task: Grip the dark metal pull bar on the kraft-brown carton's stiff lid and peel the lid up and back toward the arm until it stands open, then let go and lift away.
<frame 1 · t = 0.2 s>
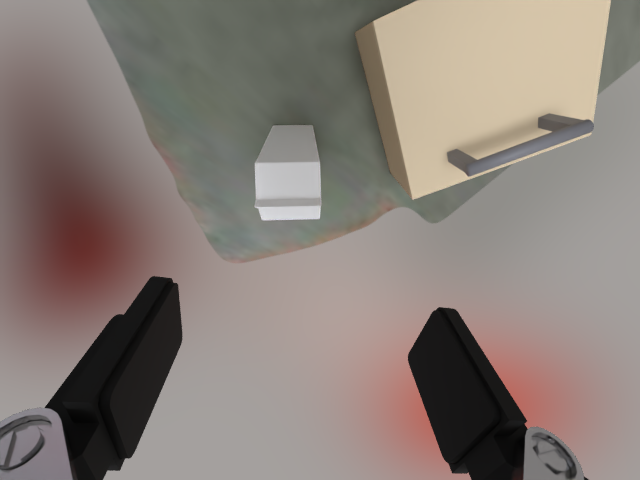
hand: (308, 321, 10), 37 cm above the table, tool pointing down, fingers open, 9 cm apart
carton lid: (509, 86, 28), point 13 cm above the table, hinge at 0.0°
milk: (293, 145, 43), on the table
carton: (449, 80, 39), on the table
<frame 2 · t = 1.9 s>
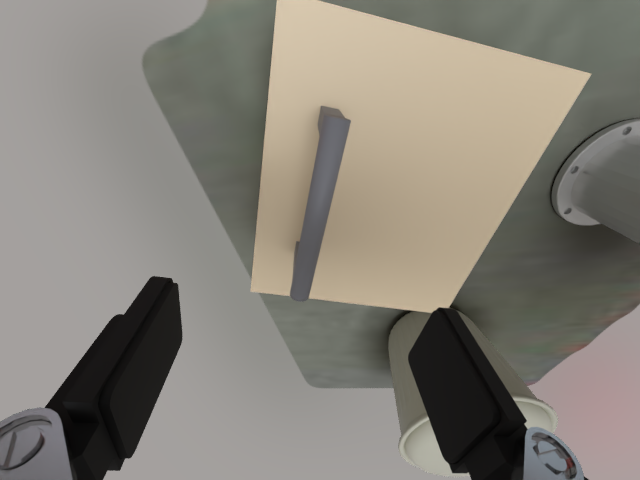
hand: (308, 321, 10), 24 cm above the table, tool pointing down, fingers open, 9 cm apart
canister: (424, 327, 47), on the table
carton lid: (396, 218, 20), point 13 cm above the table, hinge at 0.0°
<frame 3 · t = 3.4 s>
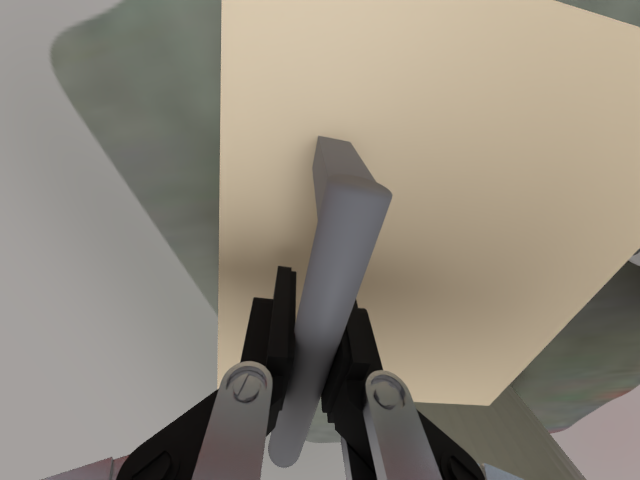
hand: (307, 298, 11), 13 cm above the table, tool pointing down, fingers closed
canister: (443, 379, 39), on the table
carton lid: (445, 318, 12), point 13 cm above the table, hinge at 0.0°, touching gripper
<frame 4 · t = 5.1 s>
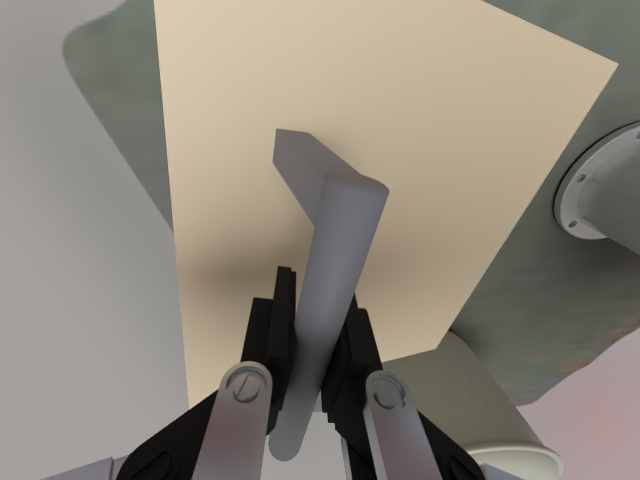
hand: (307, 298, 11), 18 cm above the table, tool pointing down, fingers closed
canister: (415, 348, 43), on the table
carton lid: (407, 285, 13), point 16 cm above the table, hinge at 17.8°, touching gripper
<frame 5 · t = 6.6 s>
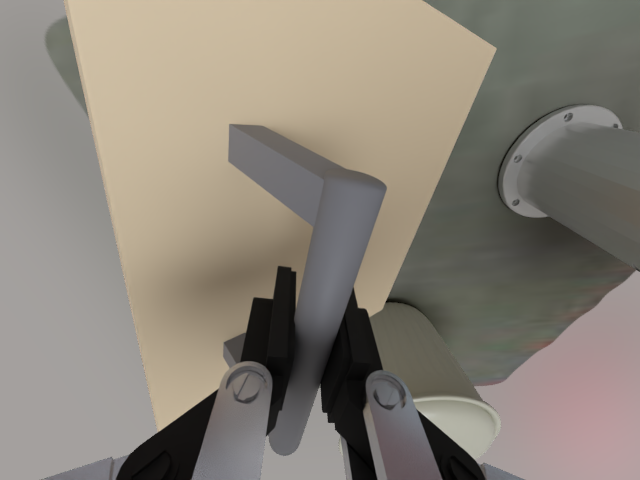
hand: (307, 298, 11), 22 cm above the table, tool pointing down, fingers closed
canister: (383, 325, 45), on the table
carton lid: (367, 261, 14), point 19 cm above the table, hinge at 37.6°, touching gripper
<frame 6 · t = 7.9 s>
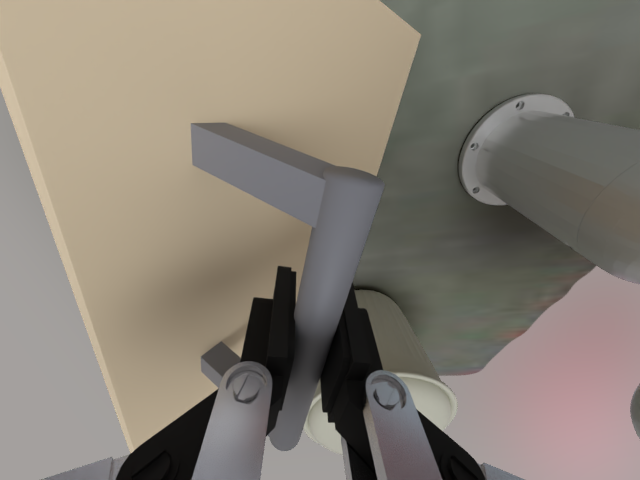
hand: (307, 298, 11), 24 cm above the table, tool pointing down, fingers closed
canister: (357, 312, 46), on the table
carton lid: (335, 248, 15), point 20 cm above the table, hinge at 53.5°, touching gripper
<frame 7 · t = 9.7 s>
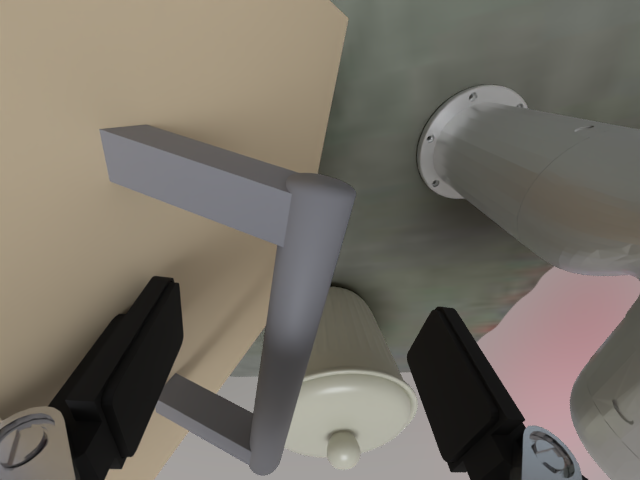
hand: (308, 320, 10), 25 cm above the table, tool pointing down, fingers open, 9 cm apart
canister: (326, 310, 46), on the table
carton lid: (290, 250, 14), point 21 cm above the table, hinge at 66.0°, touching gripper
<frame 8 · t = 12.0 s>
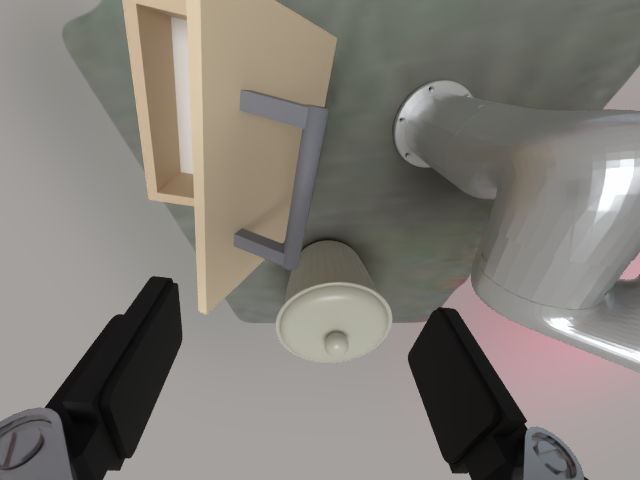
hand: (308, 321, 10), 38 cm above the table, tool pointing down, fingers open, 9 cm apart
canister: (326, 262, 57), on the table
carton lid: (302, 169, 25), point 21 cm above the table, hinge at 66.0°
carton: (243, 115, 41), on the table
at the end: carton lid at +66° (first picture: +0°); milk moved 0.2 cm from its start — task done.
